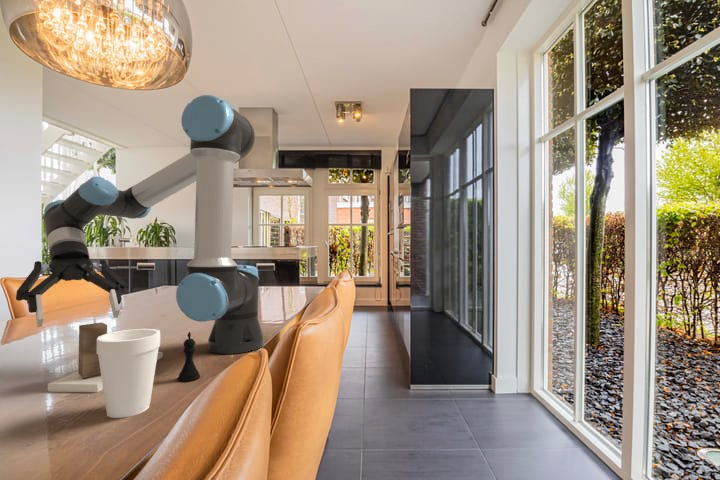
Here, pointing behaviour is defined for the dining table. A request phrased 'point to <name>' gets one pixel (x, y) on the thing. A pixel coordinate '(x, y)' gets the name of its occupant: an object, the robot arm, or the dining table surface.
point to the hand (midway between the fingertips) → (81, 318)
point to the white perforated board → (80, 382)
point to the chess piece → (189, 362)
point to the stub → (89, 349)
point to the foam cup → (128, 370)
